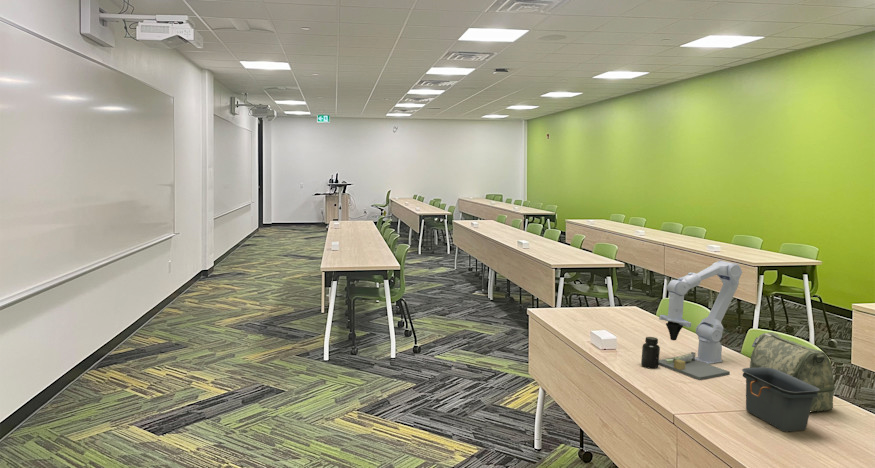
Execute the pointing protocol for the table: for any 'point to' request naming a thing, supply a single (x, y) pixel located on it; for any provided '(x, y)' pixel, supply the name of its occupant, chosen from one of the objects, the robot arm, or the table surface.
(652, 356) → the supplement bottle
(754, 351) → the lunch bag
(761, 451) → the table surface
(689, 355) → the bar
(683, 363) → the yellow wooden cube
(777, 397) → the storage bin
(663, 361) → the base
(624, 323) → the table surface
